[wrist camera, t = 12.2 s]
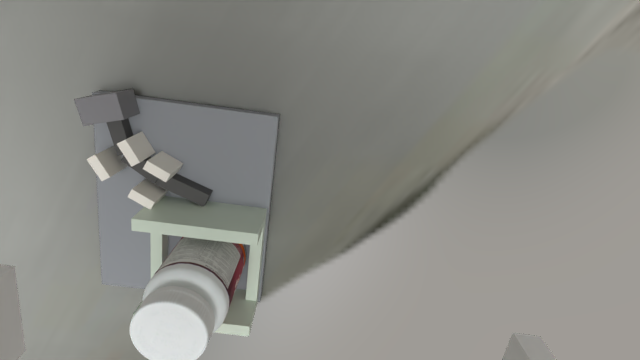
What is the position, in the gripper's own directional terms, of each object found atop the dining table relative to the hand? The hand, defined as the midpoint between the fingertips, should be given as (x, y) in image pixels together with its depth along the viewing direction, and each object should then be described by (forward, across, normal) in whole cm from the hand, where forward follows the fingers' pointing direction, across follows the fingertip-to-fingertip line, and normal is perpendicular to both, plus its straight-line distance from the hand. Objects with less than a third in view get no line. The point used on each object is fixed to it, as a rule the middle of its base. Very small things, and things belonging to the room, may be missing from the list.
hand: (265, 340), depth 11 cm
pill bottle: (+24, -7, -12) cm, 27 cm away
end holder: (+23, -7, -12) cm, 27 cm away
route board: (+25, -10, -8) cm, 28 cm away
